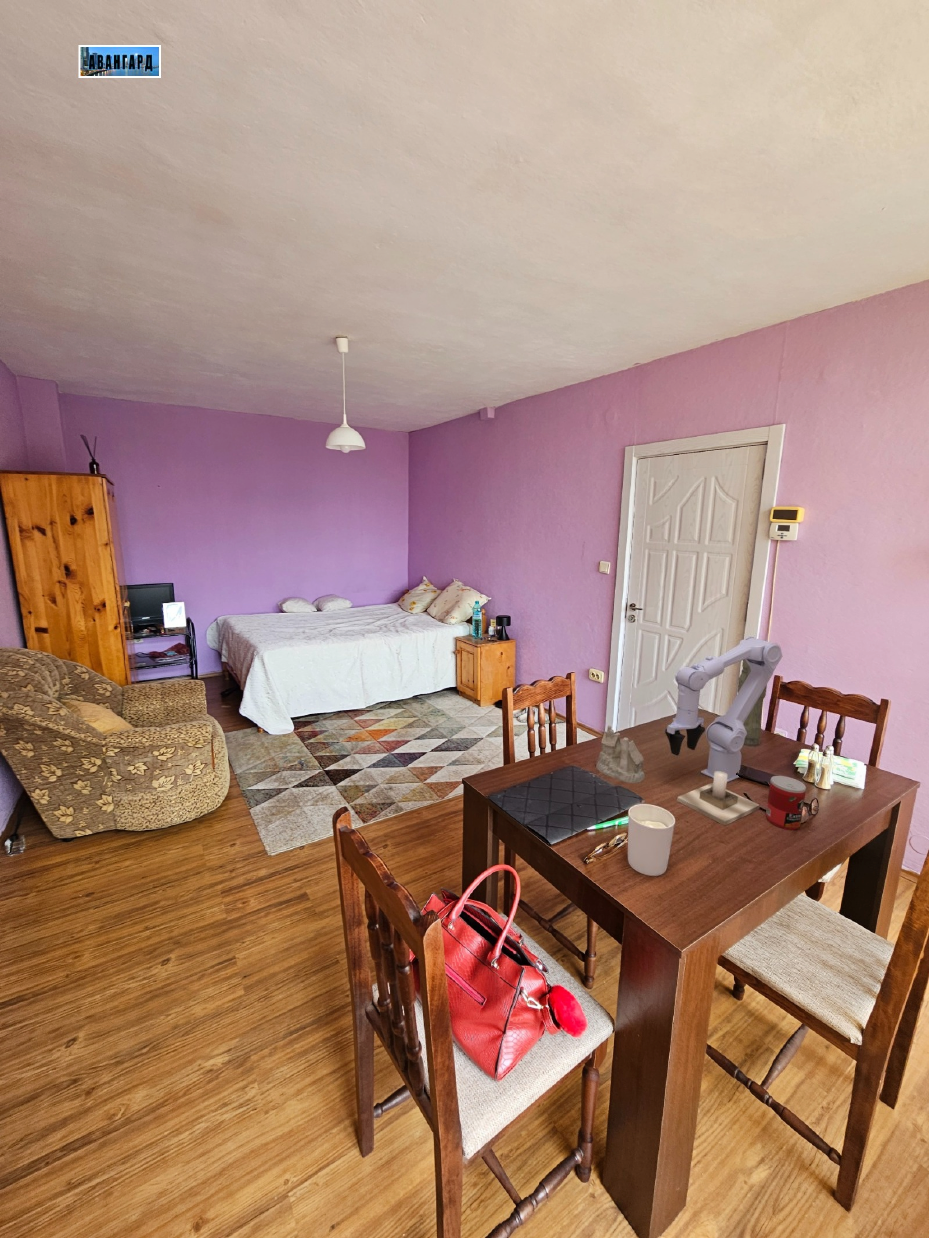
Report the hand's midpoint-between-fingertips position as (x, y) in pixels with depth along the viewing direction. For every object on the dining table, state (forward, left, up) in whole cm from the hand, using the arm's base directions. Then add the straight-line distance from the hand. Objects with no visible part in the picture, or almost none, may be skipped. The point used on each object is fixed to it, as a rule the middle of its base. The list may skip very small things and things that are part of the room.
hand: (683, 751), depth 154 cm
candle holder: (+41, +21, -10) cm, 47 cm away
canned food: (-4, +28, -10) cm, 30 cm away
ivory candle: (+3, +14, -8) cm, 16 cm away
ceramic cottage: (+9, -14, -10) cm, 19 cm away
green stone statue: (-47, -7, -10) cm, 48 cm away
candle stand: (+3, +14, -9) cm, 17 cm away
